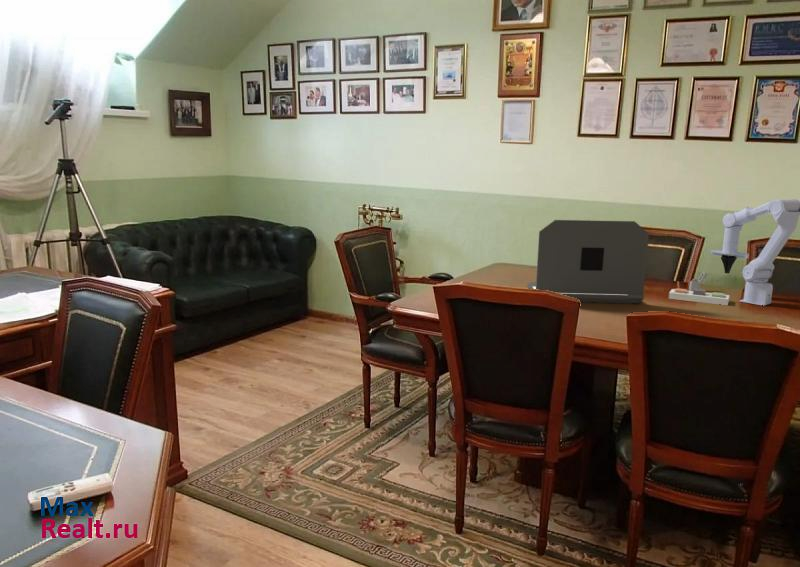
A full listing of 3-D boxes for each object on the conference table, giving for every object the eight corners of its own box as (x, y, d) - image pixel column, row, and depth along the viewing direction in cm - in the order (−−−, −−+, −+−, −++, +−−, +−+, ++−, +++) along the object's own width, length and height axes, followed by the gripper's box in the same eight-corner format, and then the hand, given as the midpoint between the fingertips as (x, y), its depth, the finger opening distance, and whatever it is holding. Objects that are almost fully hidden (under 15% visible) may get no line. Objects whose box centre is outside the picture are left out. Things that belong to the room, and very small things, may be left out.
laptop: (619, 288, 278) (626, 214, 271) (642, 305, 247) (651, 221, 240) (523, 286, 280) (527, 212, 273) (534, 302, 249) (539, 219, 242)
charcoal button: (704, 296, 257) (705, 289, 256) (704, 298, 253) (704, 291, 253) (693, 295, 259) (694, 288, 258) (692, 297, 255) (693, 290, 255)
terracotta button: (686, 296, 260) (687, 289, 260) (685, 298, 257) (686, 291, 256) (675, 295, 262) (676, 288, 262) (674, 296, 259) (675, 289, 258)
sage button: (723, 300, 253) (724, 293, 253) (722, 302, 250) (723, 295, 249) (712, 299, 255) (712, 292, 255) (711, 301, 252) (712, 294, 251)
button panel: (728, 301, 255) (729, 295, 254) (727, 305, 247) (728, 299, 246) (671, 294, 265) (672, 288, 265) (668, 298, 258) (669, 292, 257)
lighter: (691, 291, 273) (693, 273, 271) (688, 290, 274) (690, 272, 273) (705, 290, 274) (707, 273, 272) (702, 289, 276) (704, 272, 274)
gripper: (709, 240, 265) (706, 271, 267) (747, 244, 255) (742, 276, 258) (715, 239, 270) (711, 269, 272) (751, 242, 260) (747, 274, 263)
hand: (727, 273), depth 265 cm, fingers closed
